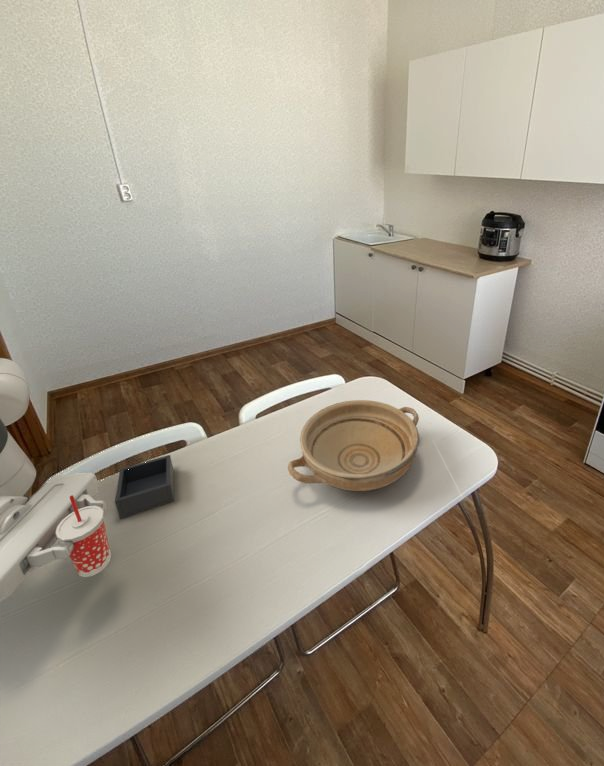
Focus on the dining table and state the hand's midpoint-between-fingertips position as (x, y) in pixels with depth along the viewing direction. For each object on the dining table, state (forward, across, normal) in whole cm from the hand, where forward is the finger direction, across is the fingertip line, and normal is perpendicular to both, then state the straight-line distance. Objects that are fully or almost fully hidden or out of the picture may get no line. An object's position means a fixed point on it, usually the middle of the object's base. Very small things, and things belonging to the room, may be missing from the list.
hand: (87, 528), depth 59 cm
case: (-7, -24, -18) cm, 31 cm away
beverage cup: (-1, 0, -8) cm, 8 cm away
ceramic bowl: (+42, -33, -18) cm, 56 cm away
